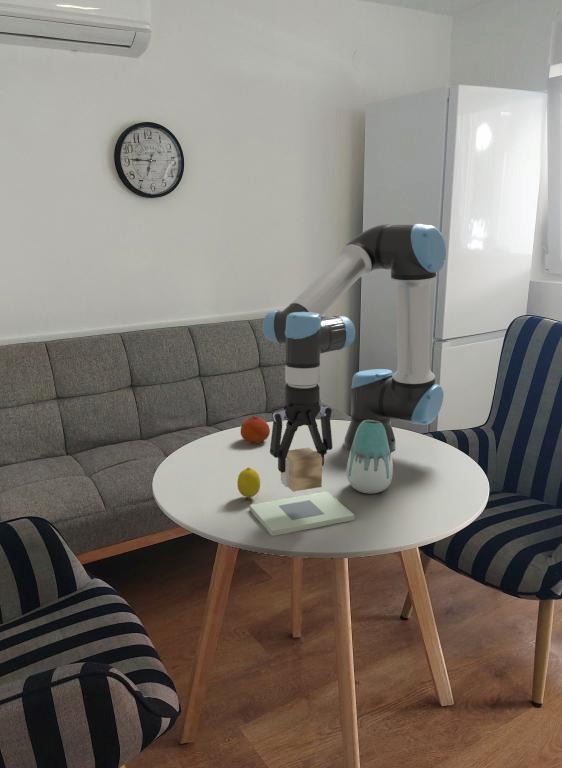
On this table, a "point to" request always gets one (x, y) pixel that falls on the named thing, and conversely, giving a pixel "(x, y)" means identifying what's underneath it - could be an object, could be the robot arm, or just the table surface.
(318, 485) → the oak cube
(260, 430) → the fruit
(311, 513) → the board
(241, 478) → the lemon
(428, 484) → the table surface
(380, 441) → the vase
